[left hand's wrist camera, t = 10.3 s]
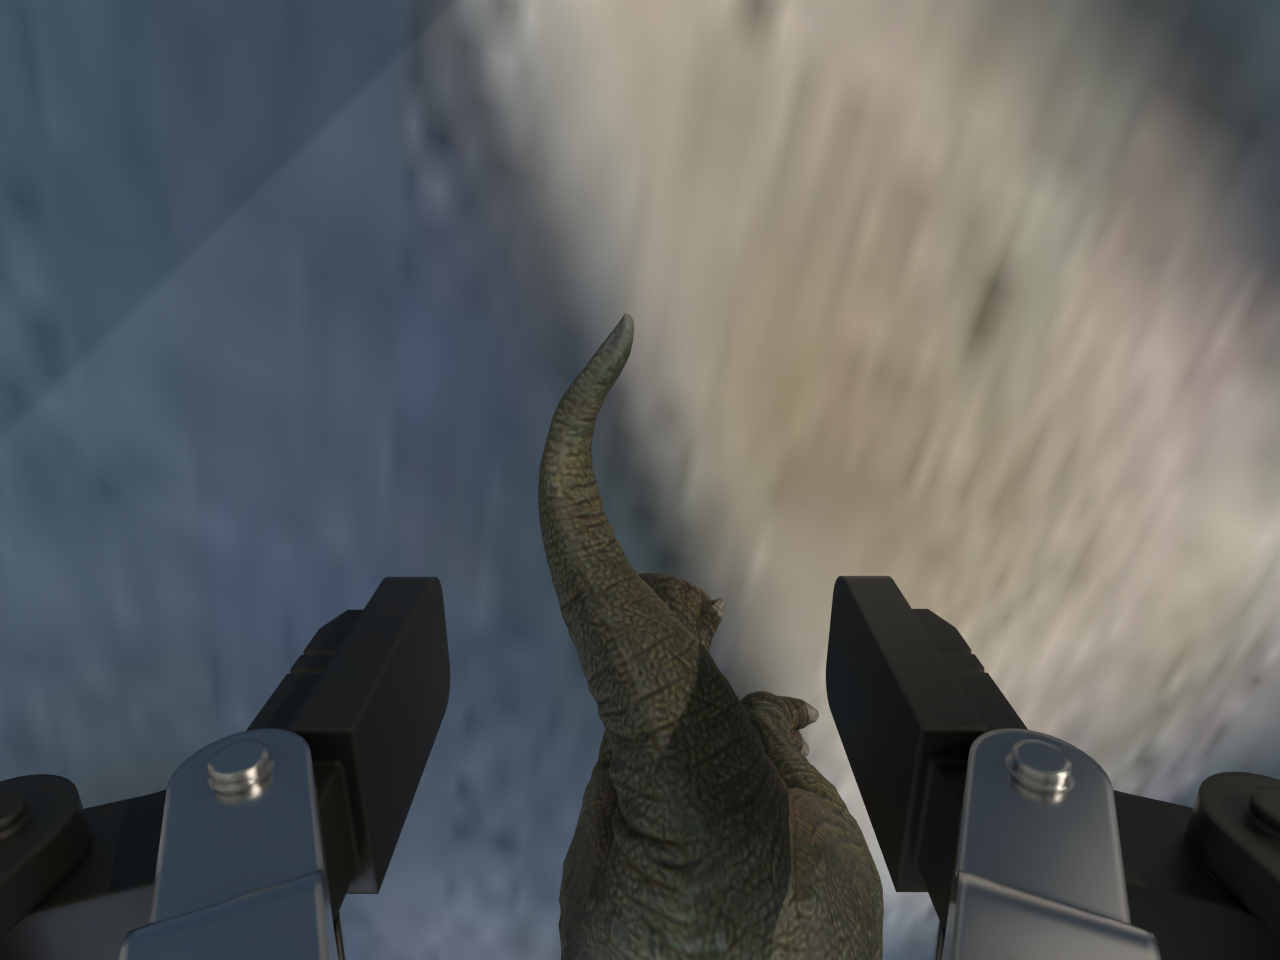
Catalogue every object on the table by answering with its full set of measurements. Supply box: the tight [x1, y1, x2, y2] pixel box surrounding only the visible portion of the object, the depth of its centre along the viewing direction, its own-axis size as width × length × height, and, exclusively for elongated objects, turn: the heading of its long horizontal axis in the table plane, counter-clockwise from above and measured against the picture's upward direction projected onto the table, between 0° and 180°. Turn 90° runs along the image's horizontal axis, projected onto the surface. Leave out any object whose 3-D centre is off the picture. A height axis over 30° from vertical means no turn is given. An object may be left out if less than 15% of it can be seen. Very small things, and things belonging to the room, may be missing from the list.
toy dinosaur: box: [539, 313, 884, 960], centre depth 14 cm, size 22×8×11 cm, turn 173°
